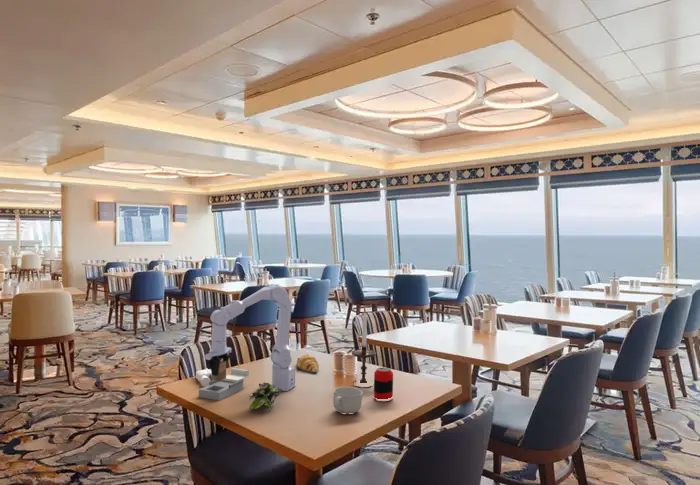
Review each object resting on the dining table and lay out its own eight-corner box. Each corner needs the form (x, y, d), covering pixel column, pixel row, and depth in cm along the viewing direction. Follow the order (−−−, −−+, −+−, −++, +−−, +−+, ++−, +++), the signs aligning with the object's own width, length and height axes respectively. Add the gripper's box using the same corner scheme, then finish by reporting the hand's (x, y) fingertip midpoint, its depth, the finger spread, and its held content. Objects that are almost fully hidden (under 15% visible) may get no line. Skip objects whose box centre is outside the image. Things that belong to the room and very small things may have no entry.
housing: (243, 389, 205) (243, 379, 205) (219, 400, 190) (220, 389, 190) (222, 385, 209) (222, 376, 209) (197, 396, 194) (198, 386, 194)
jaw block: (225, 378, 196) (226, 358, 196) (219, 380, 192) (220, 360, 192) (217, 377, 198) (218, 357, 198) (211, 379, 194) (211, 359, 194)
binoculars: (201, 388, 206) (201, 377, 206) (193, 378, 220) (193, 368, 220) (225, 384, 212) (225, 374, 212) (216, 375, 226) (216, 365, 226)
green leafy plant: (263, 419, 186) (276, 389, 192) (276, 422, 177) (291, 391, 183) (239, 406, 181) (254, 376, 187) (252, 409, 173) (267, 377, 178)
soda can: (386, 395, 200) (387, 366, 200) (396, 400, 194) (396, 370, 194) (370, 397, 197) (371, 368, 197) (379, 403, 190) (380, 372, 190)
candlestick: (346, 383, 216) (347, 305, 216) (365, 379, 222) (366, 303, 222) (361, 389, 207) (363, 308, 207) (380, 385, 213) (382, 306, 213)
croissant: (321, 380, 232) (328, 364, 234) (304, 372, 228) (312, 357, 229) (303, 368, 250) (310, 354, 252) (287, 361, 246) (294, 347, 248)
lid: (248, 377, 210) (248, 370, 210) (237, 382, 203) (237, 375, 203) (232, 375, 213) (232, 368, 213) (221, 380, 206) (221, 372, 206)
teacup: (345, 405, 188) (346, 384, 188) (368, 411, 181) (368, 390, 181) (321, 414, 177) (321, 392, 177) (344, 422, 170) (344, 399, 170)
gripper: (221, 336, 203) (221, 368, 203) (199, 342, 190) (198, 377, 190) (235, 337, 201) (235, 370, 201) (214, 344, 187) (213, 379, 187)
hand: (218, 373), depth 195 cm, fingers closed on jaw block, 4 cm apart
